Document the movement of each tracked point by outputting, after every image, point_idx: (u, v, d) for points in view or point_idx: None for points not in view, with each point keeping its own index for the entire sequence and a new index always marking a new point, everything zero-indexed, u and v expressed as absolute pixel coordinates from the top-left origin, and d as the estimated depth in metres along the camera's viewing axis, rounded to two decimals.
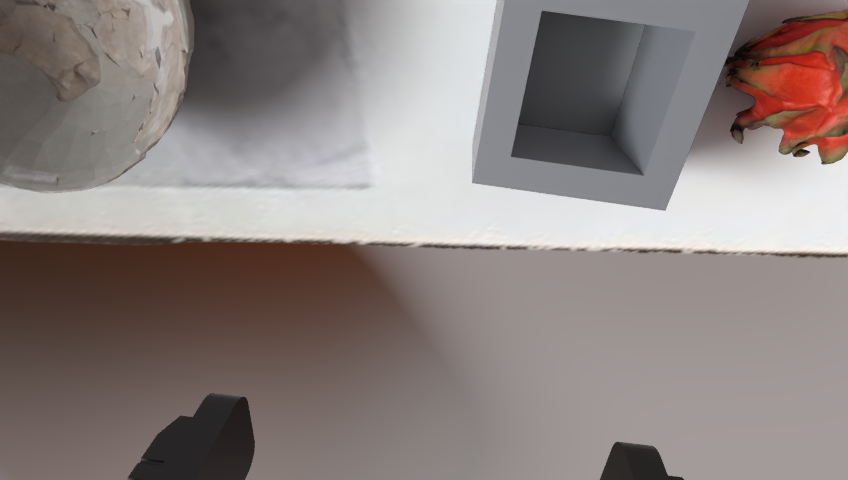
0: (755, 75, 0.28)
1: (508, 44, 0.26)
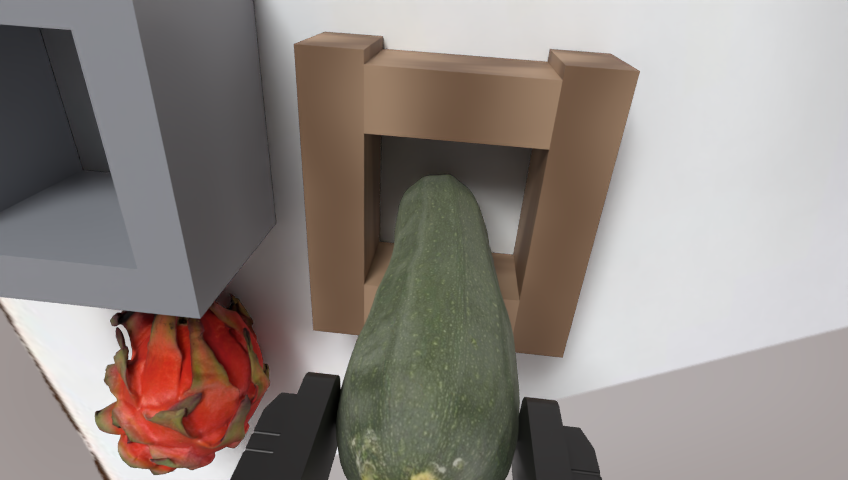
0: (163, 327, 0.23)
1: None
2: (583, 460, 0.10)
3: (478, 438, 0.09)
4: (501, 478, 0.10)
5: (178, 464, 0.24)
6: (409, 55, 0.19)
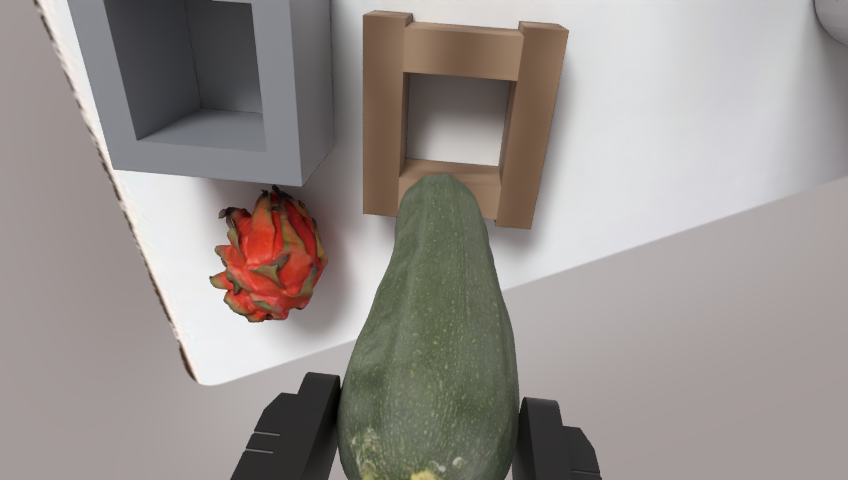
0: (262, 210, 0.34)
1: None
2: (583, 460, 0.10)
3: (479, 437, 0.09)
4: (501, 477, 0.10)
5: (270, 306, 0.35)
6: (430, 24, 0.31)
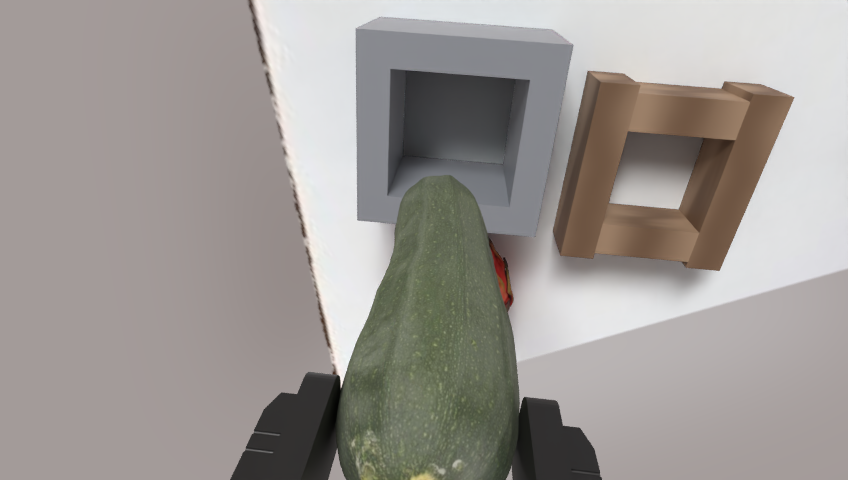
0: None
1: (501, 51, 0.27)
2: (583, 460, 0.10)
3: (478, 439, 0.09)
4: None
5: None
6: (645, 85, 0.33)
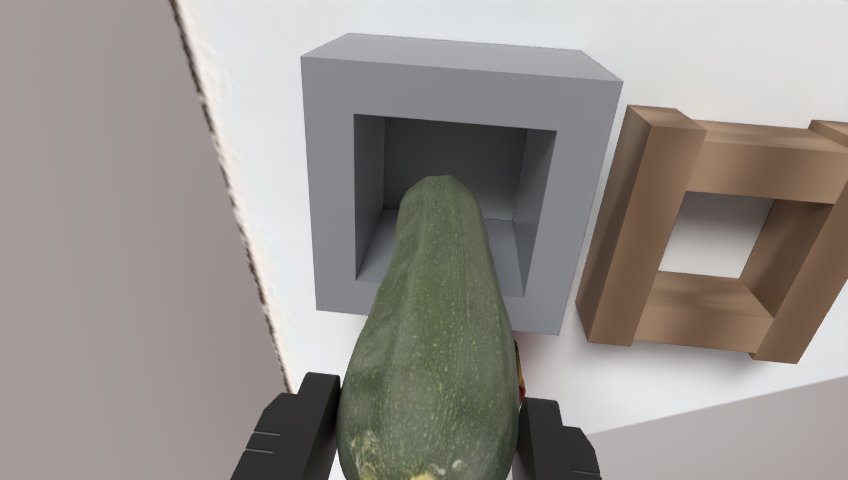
0: None
1: (516, 90, 0.18)
2: (583, 460, 0.10)
3: (478, 440, 0.09)
4: None
5: None
6: (707, 126, 0.25)
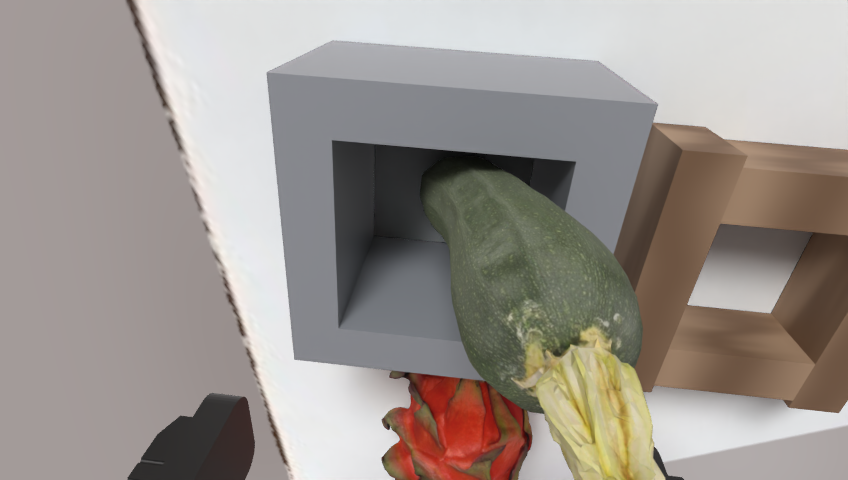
0: (470, 385, 0.25)
1: (526, 113, 0.15)
2: None
3: (626, 298, 0.10)
4: (641, 344, 0.10)
5: None
6: (742, 148, 0.21)
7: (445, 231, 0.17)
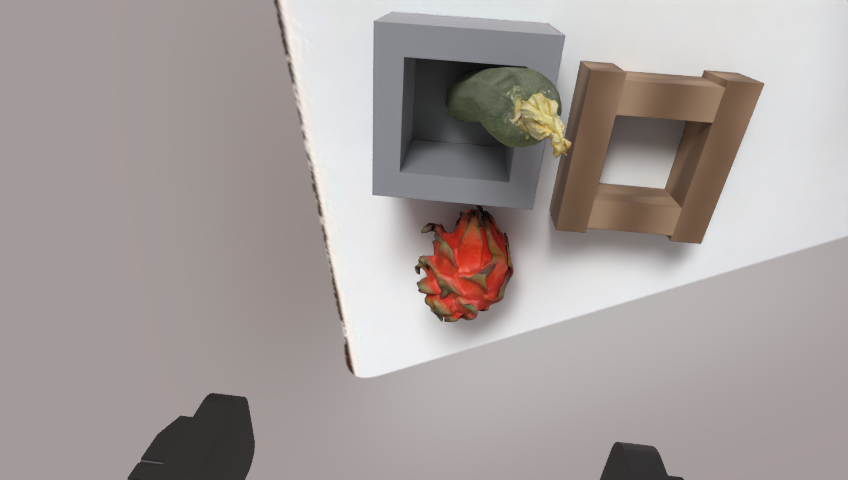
0: (473, 227, 0.40)
1: (502, 41, 0.30)
2: None
3: (553, 87, 0.25)
4: (560, 109, 0.26)
5: (475, 308, 0.41)
6: (632, 74, 0.37)
7: (468, 100, 0.32)
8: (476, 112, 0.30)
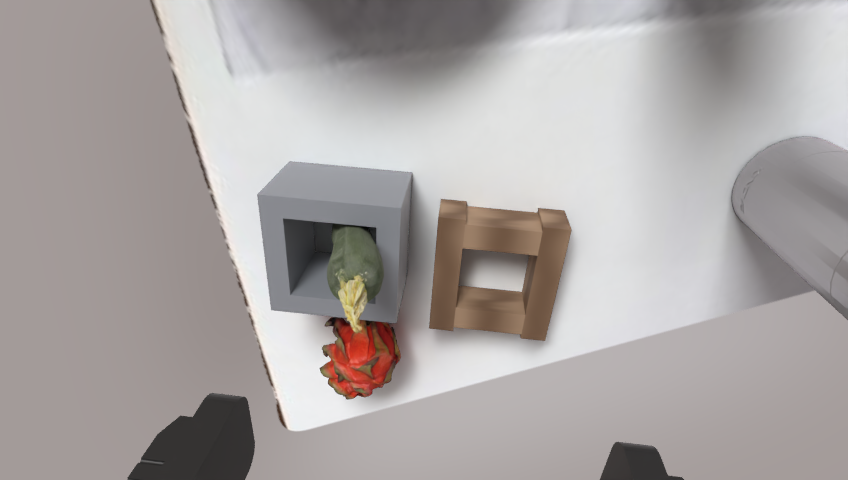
0: None
1: (354, 210, 0.40)
2: None
3: (371, 268, 0.35)
4: (378, 282, 0.35)
5: (364, 391, 0.51)
6: (479, 212, 0.46)
7: None
8: None
